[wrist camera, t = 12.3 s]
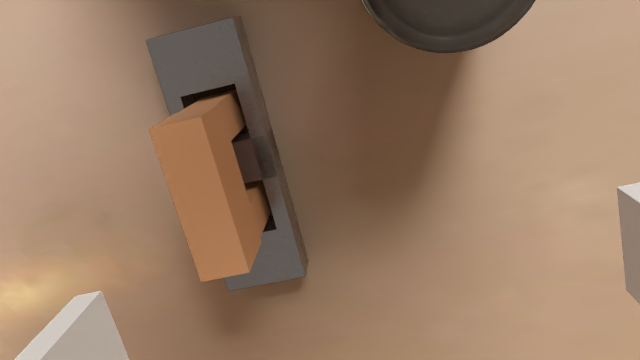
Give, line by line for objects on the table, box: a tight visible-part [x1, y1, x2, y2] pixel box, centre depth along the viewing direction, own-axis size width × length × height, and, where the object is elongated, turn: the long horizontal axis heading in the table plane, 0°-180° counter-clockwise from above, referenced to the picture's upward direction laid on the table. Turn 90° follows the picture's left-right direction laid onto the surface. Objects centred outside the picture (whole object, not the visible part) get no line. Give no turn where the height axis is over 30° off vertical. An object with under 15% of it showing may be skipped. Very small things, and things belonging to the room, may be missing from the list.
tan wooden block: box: [149, 90, 271, 282], centre depth 41 cm, size 11×4×12 cm, turn 14°
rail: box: [146, 16, 308, 291], centre depth 46 cm, size 22×7×3 cm, turn 14°
